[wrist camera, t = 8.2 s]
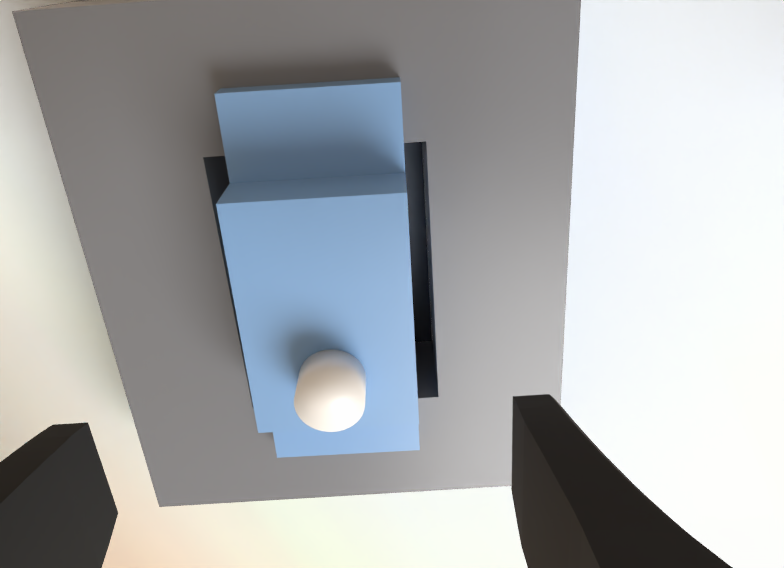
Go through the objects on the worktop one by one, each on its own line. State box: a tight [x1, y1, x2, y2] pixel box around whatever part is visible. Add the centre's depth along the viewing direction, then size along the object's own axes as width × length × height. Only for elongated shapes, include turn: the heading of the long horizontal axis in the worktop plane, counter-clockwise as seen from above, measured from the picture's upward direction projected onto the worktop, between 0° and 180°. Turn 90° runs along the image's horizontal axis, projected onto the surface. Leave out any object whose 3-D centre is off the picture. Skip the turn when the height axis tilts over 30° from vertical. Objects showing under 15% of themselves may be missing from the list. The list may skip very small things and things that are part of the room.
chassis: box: [12, 0, 581, 507], centre depth 19 cm, size 12×14×3 cm
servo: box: [214, 77, 420, 458], centre depth 17 cm, size 4×10×6 cm, turn 3°
